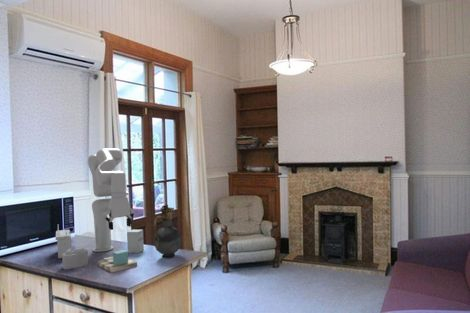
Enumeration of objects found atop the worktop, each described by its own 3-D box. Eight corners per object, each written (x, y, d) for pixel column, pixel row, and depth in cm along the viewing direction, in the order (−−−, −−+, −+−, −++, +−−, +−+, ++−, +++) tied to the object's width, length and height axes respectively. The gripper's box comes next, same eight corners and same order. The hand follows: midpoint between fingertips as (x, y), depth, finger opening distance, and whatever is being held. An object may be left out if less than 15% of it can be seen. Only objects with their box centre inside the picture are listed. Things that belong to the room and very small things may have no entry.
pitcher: (184, 253, 214) (182, 202, 213) (163, 263, 197) (161, 207, 196) (169, 251, 219) (167, 201, 218) (148, 261, 202) (145, 206, 201)
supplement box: (138, 253, 219) (137, 232, 219) (127, 252, 220) (126, 231, 220) (144, 249, 226) (143, 229, 226) (133, 249, 227) (132, 229, 227)
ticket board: (97, 264, 198) (97, 259, 198) (122, 259, 207) (122, 253, 207) (111, 272, 185) (111, 266, 185) (137, 265, 194) (136, 260, 194)
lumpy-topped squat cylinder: (91, 262, 203) (90, 247, 203) (71, 270, 191) (70, 253, 191) (77, 261, 207) (76, 245, 207) (57, 268, 196) (56, 251, 195)
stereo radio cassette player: (72, 257, 214) (70, 223, 214) (56, 259, 211) (54, 225, 211) (71, 249, 233) (69, 218, 233) (56, 251, 230) (55, 219, 229)
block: (113, 263, 192) (112, 252, 192) (124, 260, 196) (123, 249, 196) (117, 265, 189) (116, 253, 189) (128, 262, 193) (127, 251, 193)
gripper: (130, 193, 201) (132, 224, 201) (99, 196, 189) (101, 229, 189) (137, 194, 195) (138, 226, 195) (105, 197, 183) (107, 231, 184)
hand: (120, 227), depth 192 cm, fingers open, 9 cm apart
